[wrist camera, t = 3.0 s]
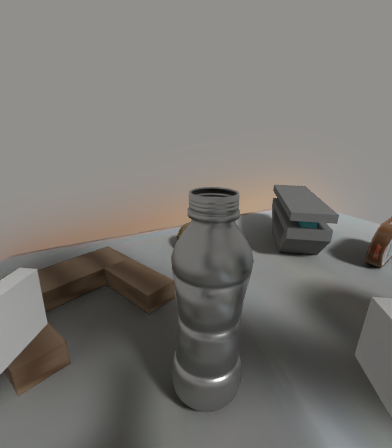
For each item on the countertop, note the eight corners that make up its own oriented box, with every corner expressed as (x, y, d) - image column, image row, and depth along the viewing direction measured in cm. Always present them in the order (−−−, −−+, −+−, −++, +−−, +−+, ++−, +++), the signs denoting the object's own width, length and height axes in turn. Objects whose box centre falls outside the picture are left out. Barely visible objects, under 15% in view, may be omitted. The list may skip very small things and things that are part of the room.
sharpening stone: (327, 270, 49) (338, 215, 45) (283, 267, 50) (291, 212, 46) (298, 225, 72) (305, 186, 68) (269, 223, 73) (274, 184, 69)
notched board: (109, 260, 51) (108, 246, 50) (174, 297, 40) (174, 280, 39) (-27, 312, 36) (-33, 294, 35) (18, 395, 25) (11, 372, 24)
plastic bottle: (168, 367, 28) (164, 184, 22) (228, 358, 30) (242, 182, 23) (175, 430, 22) (172, 205, 16) (250, 416, 24) (276, 201, 17)
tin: (383, 247, 59) (393, 211, 56) (400, 252, 57) (411, 215, 54) (360, 269, 50) (371, 227, 47) (380, 275, 48) (392, 232, 45)
